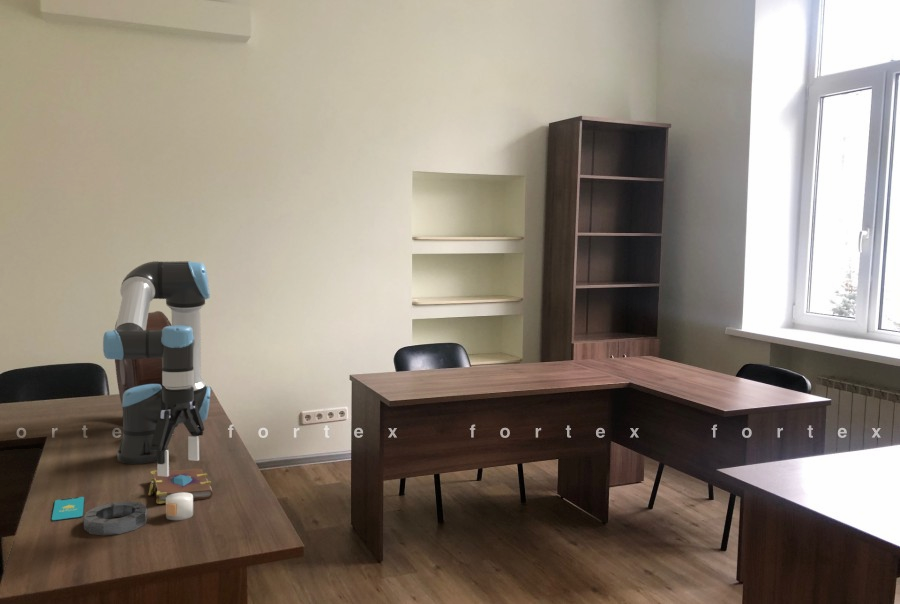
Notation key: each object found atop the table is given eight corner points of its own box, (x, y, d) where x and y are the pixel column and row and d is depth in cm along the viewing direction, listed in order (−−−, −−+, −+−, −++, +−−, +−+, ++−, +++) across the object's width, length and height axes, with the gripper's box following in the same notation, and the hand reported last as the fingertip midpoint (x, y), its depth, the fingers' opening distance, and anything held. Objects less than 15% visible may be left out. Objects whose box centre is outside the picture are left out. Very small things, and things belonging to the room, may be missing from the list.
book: (201, 475, 222) (202, 459, 222) (213, 502, 200) (214, 485, 200) (143, 479, 215) (144, 463, 215) (150, 508, 193) (150, 489, 193)
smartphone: (50, 520, 182) (54, 499, 195) (51, 523, 182) (54, 502, 195) (83, 516, 185) (84, 496, 198) (83, 519, 185) (84, 499, 198)
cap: (177, 508, 192) (176, 490, 192) (199, 511, 191) (199, 493, 190) (159, 519, 185) (159, 500, 184) (182, 522, 183) (182, 503, 183)
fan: (186, 437, 258) (185, 316, 254) (132, 444, 248) (130, 318, 244) (161, 412, 292) (159, 305, 288) (112, 418, 282) (110, 307, 278)
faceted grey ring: (110, 510, 190) (110, 499, 189) (157, 516, 187) (157, 504, 187) (71, 531, 176) (71, 519, 176) (122, 537, 173) (122, 525, 173)
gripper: (192, 377, 198) (193, 453, 199) (133, 395, 173) (135, 481, 175) (217, 378, 196) (217, 455, 198) (161, 397, 172) (163, 484, 173)
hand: (179, 467), depth 186 cm, fingers open, 13 cm apart
